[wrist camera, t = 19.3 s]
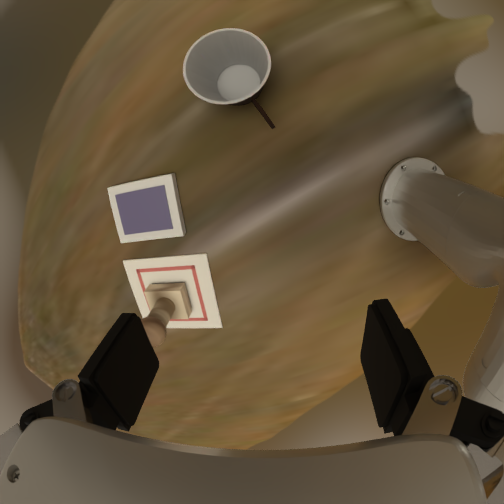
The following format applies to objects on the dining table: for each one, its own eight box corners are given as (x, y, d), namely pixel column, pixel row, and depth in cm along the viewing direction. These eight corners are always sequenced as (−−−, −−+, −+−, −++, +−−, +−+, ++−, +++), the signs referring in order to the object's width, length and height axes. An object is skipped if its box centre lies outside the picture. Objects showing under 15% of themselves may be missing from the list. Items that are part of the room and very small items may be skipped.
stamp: (185, 280, 42) (160, 327, 32) (193, 308, 44) (172, 357, 34) (150, 282, 43) (119, 325, 32) (159, 309, 45) (133, 354, 34)
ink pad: (174, 172, 36) (170, 174, 34) (186, 232, 39) (183, 236, 38) (112, 186, 37) (106, 188, 36) (124, 239, 41) (120, 243, 39)
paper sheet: (206, 253, 40) (206, 254, 40) (222, 326, 46) (222, 328, 46) (123, 260, 42) (122, 261, 42) (147, 326, 48) (146, 327, 47)
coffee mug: (202, 62, 29) (178, 39, 20) (266, 50, 28) (263, 21, 19) (215, 140, 34) (194, 141, 25) (280, 129, 33) (282, 126, 23)
